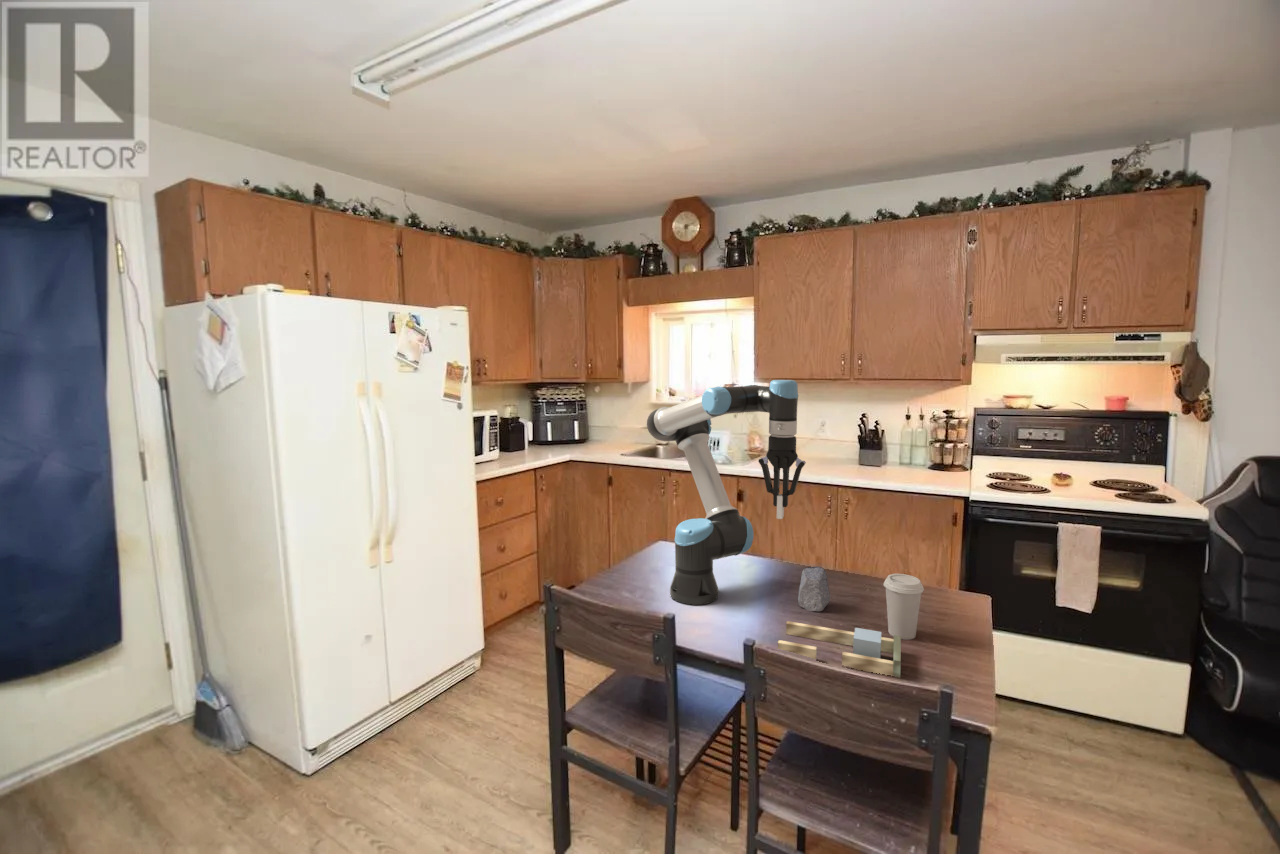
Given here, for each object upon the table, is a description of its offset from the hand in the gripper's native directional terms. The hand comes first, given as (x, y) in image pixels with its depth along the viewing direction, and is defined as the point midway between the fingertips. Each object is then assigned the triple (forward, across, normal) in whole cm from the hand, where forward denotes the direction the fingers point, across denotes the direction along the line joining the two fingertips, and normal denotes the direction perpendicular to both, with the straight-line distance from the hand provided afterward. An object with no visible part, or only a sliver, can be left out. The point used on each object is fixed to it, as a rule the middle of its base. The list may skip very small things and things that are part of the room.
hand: (780, 517), depth 158 cm
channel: (+28, +18, -17) cm, 37 cm away
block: (+28, +25, -17) cm, 41 cm away
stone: (+29, +9, +9) cm, 31 cm away
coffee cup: (+28, +33, 0) cm, 43 cm away
